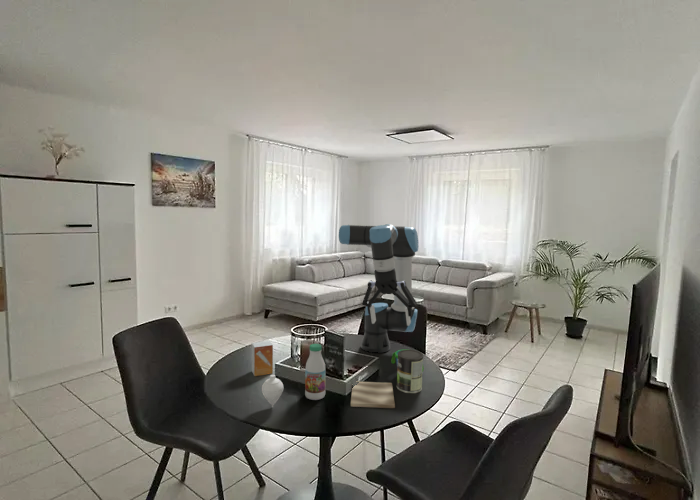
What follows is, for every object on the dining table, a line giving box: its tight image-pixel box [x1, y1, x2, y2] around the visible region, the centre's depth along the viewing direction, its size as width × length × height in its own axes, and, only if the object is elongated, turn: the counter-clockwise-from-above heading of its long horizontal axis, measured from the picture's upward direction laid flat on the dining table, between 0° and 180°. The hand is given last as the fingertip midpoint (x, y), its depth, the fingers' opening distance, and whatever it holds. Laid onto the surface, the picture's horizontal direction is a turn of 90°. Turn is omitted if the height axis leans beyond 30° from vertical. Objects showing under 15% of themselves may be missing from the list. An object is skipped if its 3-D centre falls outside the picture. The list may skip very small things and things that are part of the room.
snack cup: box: [390, 348, 425, 373], centre depth 166 cm, size 16×10×10 cm
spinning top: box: [261, 374, 284, 408], centre depth 138 cm, size 8×8×12 cm
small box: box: [251, 340, 274, 377], centre depth 167 cm, size 8×6×13 cm
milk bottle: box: [304, 343, 326, 401], centre depth 146 cm, size 8×8×20 cm
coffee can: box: [396, 349, 424, 394], centre depth 155 cm, size 10×10×14 cm
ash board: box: [350, 381, 396, 409], centre depth 148 cm, size 18×16×1 cm
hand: (391, 323), depth 143 cm, fingers open, 13 cm apart
